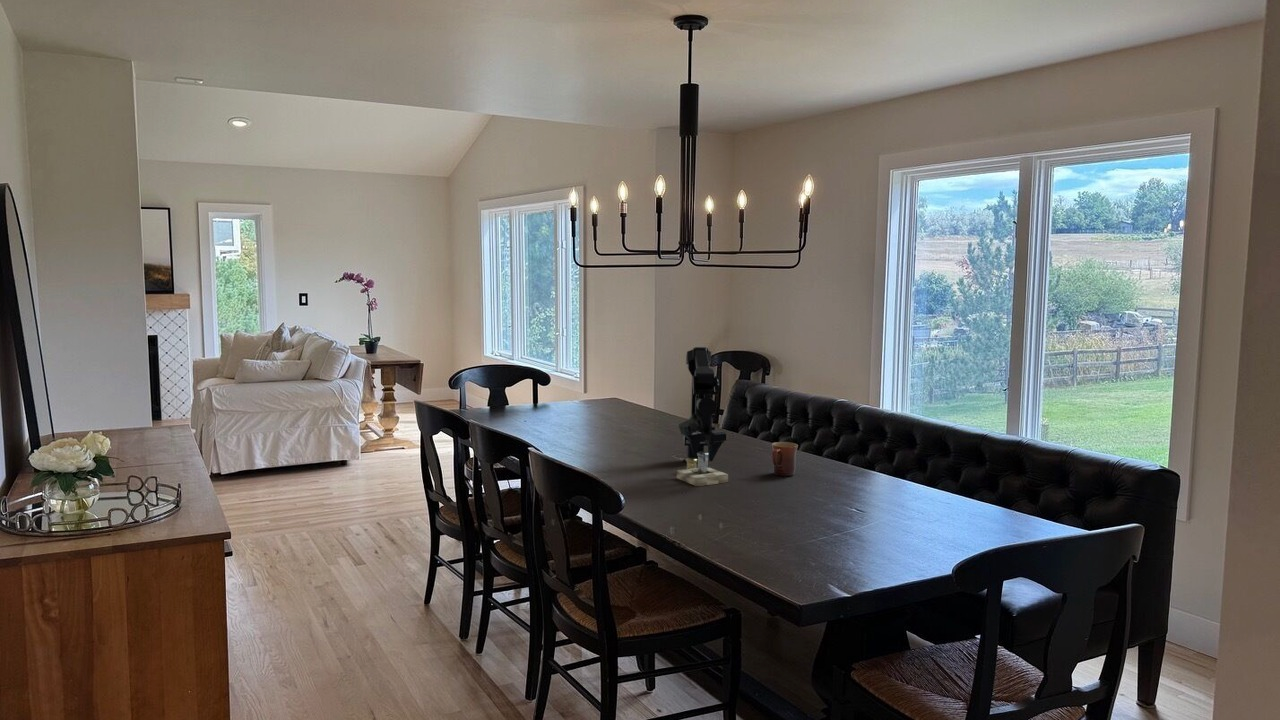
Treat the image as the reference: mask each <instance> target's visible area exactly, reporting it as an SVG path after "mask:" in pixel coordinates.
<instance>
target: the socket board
mask: <svg viewBox="0 0 1280 720" xmlns="http://www.w3.org/2000/svg"><path fill="white" fill-rule="evenodd" d="M676 479H677V480H680V481H683V482H686V483H688V484H690V485H693V486H695V487H703V486H707V485H708V486H711V485H718V484H725V483H726V484H727V483H728V482H729V473H725V472H723V471H720V470H717V469H714V468H712V467H708V470H707V474H699V473H698V467H696V468H693V469H687V468H685V469H677V470H676Z"/></svg>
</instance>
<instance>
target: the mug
mask: <svg viewBox="0 0 1280 720" xmlns="http://www.w3.org/2000/svg"><path fill="white" fill-rule="evenodd" d="M771 447H772V454H771V459H772V468H773V469H772V471H773V474H775V476H778V477H792V476H793V475H794V474H795V471H796V455H797V450H798V447H799V445H798V444H797V443H794V442H788V441H779V442H777V441H776V442H772V443H771Z"/></svg>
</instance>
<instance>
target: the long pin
mask: <svg viewBox="0 0 1280 720" xmlns="http://www.w3.org/2000/svg"><path fill="white" fill-rule="evenodd" d="M697 456H698V463H697V468H698V473H699V474H707V470H708V464H709V462H708V461H709V456H708V451H707V452H706V451H704V452H697Z"/></svg>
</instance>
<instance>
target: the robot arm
mask: <svg viewBox="0 0 1280 720" xmlns="http://www.w3.org/2000/svg"><path fill="white" fill-rule="evenodd" d="M711 363H712V352H711V351H710V350H709V348H708V347H706V346H705V347H704V346H695V347H692V349H690V350H687V351H686V356H685V364H686V365H687V369H688V371H689V373H690V374H691V393H690V394H691V395H690V398H691V399H690V417H689V419H687V420H685V421H683V422H681V423H679V424H678V428H679V431H680V435H683V436H682V437H683V441H682V443H683V446H686V458H697V462H696V464H698V456H697V452H705V446H706V447H707V452H708V461H709V462H713V461H714V459H715V457H716V455H717V453H718V451H719V450H720V448H721V446H722V445H723V443H725V441H726V442H727V440H728V434H727V433H726V431H723V430H720V429H716V426H714V425H713V423H714V422H713V418H716V414H715V412H716V411H717V404H716V402H715V400H714V396H718V395H719V392H720V381H719V378H718V376H717V375H715V370H714V369H712V368H710V365H711ZM686 458H682V460H683V462H686Z"/></svg>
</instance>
